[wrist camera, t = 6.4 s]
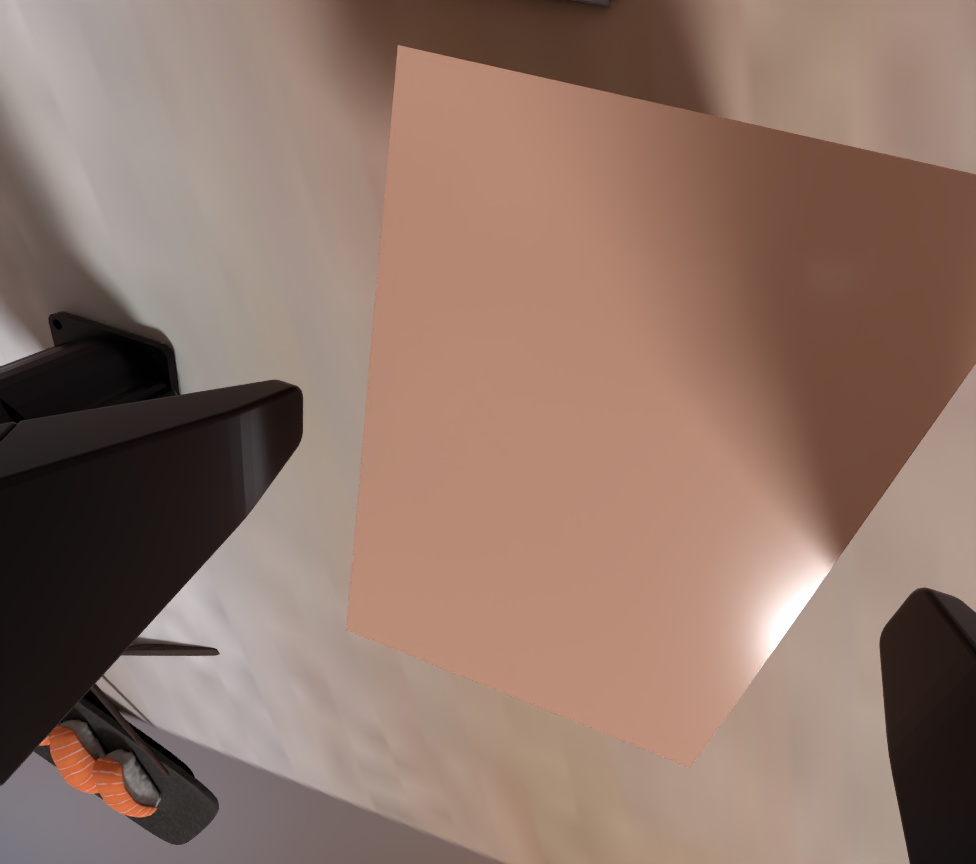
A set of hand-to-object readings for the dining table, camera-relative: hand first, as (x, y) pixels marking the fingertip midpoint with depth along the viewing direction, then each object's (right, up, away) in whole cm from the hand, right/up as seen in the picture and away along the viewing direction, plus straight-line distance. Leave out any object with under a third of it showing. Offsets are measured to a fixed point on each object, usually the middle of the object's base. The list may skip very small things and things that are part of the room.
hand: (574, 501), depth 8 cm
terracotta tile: (+1, +1, +2) cm, 3 cm away
